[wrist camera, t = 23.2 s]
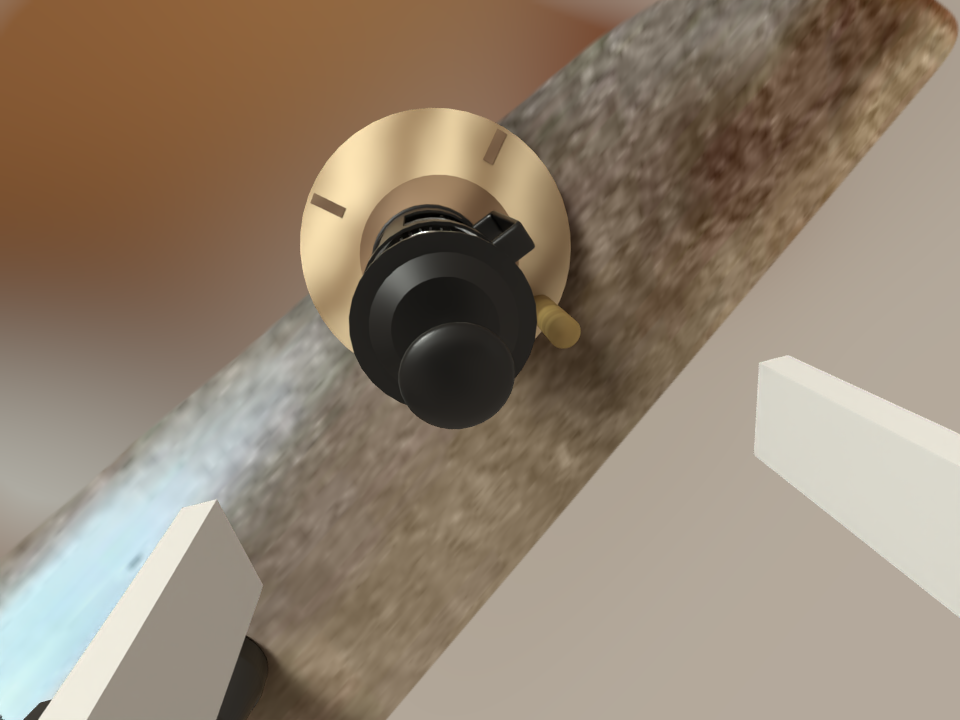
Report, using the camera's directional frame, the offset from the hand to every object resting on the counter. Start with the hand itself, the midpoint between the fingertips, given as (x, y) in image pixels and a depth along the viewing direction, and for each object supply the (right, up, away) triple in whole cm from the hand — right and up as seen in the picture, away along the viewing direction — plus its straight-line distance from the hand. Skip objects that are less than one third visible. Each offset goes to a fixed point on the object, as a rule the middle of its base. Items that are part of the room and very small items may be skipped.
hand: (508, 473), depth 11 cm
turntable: (-4, +12, +28) cm, 31 cm away
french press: (-4, +11, +26) cm, 29 cm away
